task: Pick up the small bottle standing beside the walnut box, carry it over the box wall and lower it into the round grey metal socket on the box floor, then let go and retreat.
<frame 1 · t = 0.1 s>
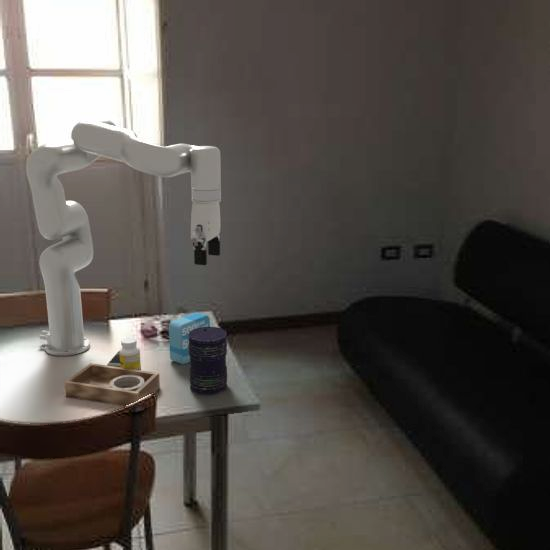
hand: (207, 259, 174), 31 cm above the table, fingers open, 9 cm apart
cell phone: (123, 362, 187), on the table
walnut box: (113, 391, 168), on the table
supplement bottle: (130, 374, 179), on the table
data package: (190, 357, 190), on the table
storage jar: (208, 387, 172), on the table
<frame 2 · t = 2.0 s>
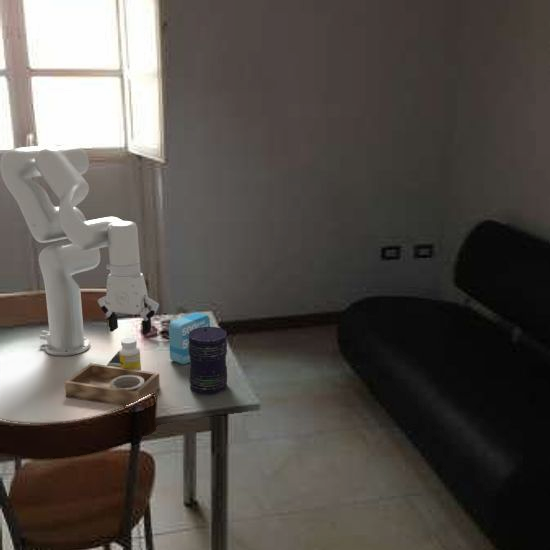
hand: (130, 331, 175), 12 cm above the table, fingers open, 9 cm apart
nothing on the table moved.
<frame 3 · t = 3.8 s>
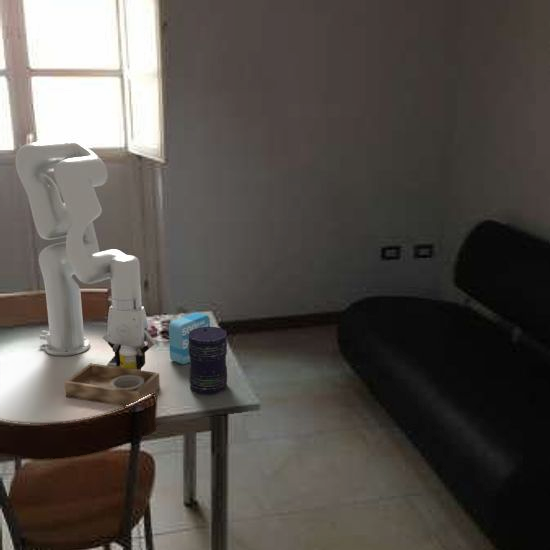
hand: (130, 365, 178), 3 cm above the table, fingers closed on supplement bottle, 5 cm apart
supplement bottle: (130, 374, 179), on the table, touching gripper
everything else where it was.
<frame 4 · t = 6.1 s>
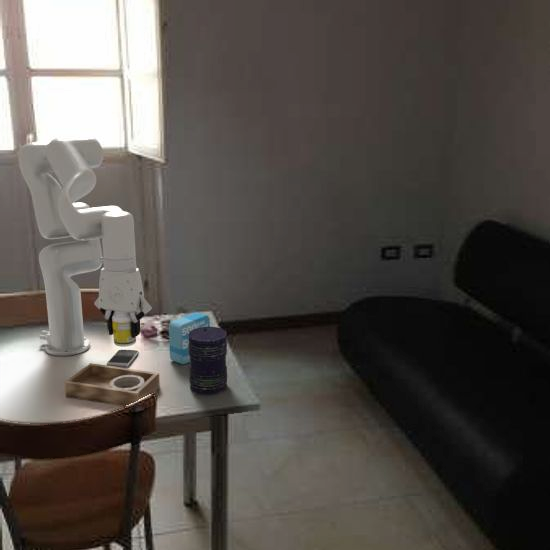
hand: (124, 333, 162), 17 cm above the table, fingers closed on supplement bottle, 5 cm apart
supplement bottle: (125, 343, 163), point 14 cm above the table, touching gripper
everything else where it was.
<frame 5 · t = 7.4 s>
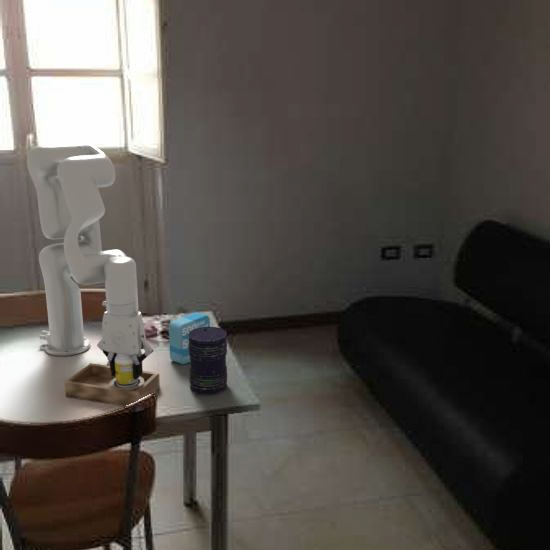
hand: (126, 374, 166), 5 cm above the table, fingers closed on supplement bottle, 5 cm apart
supplement bottle: (127, 384, 166), point 3 cm above the table, touching gripper
everything else where it was.
when the fingers open (4 cm above the table, at t = 8.4 s): supplement bottle drops 1 cm, resting on walnut box.
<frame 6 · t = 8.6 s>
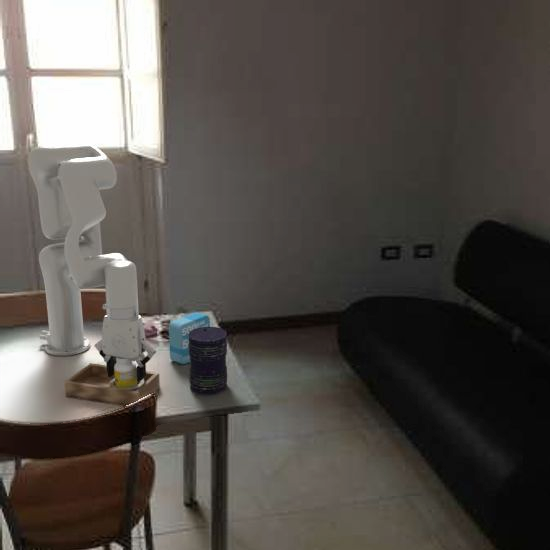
hand: (126, 376, 166), 5 cm above the table, fingers open, 7 cm apart
supplement bottle: (126, 391, 167), point 1 cm above the table, touching walnut box
everything else where it was.
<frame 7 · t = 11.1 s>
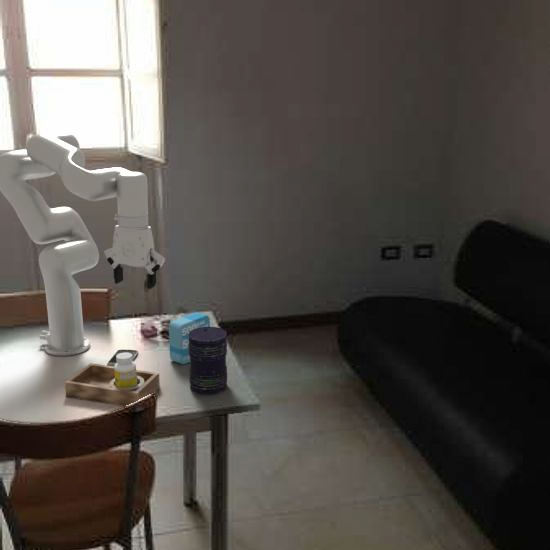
hand: (135, 284, 173), 25 cm above the table, fingers open, 9 cm apart
nothing on the table moved.
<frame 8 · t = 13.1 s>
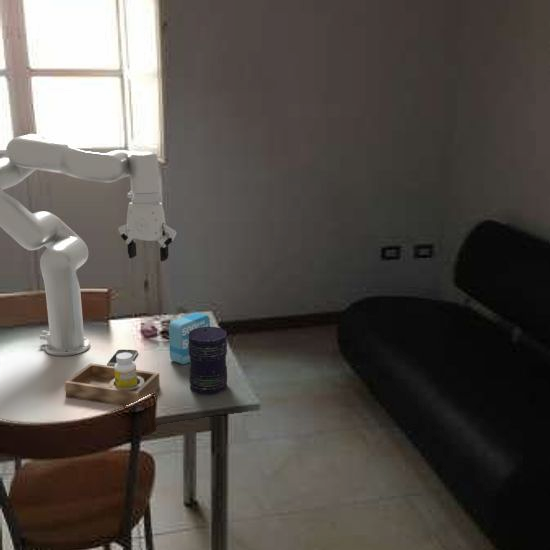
hand: (148, 258, 185), 28 cm above the table, fingers open, 9 cm apart
nothing on the table moved.
at the end: supplement bottle 0.3 cm from the target spot on the walnut box, point 0.6 cm above the walnut box's base; supplement bottle tilted 0°; the gripper is holding nothing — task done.
